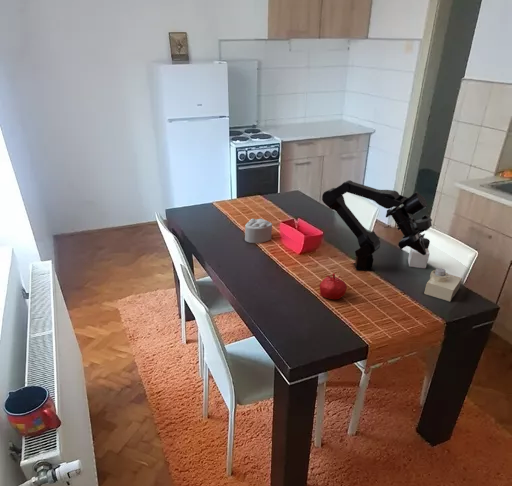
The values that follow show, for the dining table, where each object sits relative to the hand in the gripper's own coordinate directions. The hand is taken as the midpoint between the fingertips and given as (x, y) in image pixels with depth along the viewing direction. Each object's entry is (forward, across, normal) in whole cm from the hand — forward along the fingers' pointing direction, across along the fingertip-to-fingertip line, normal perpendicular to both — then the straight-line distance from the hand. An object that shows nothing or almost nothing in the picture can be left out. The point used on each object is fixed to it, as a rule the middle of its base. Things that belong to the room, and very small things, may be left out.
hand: (425, 254), depth 183 cm
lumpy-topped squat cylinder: (-44, -3, +64) cm, 78 cm away
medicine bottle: (+5, +18, +14) cm, 24 cm away
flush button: (+10, 0, -1) cm, 10 cm away
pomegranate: (-7, -31, +26) cm, 41 cm away
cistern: (+16, 0, +2) cm, 16 cm away
